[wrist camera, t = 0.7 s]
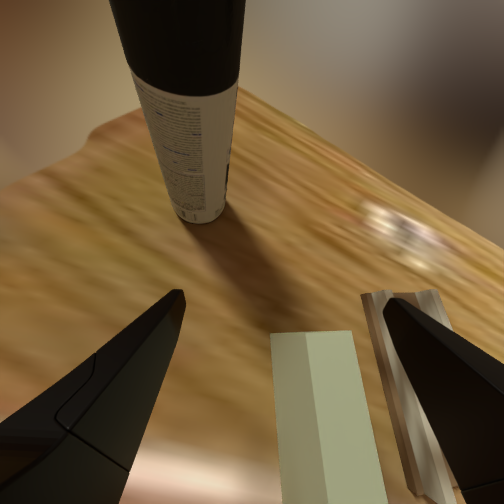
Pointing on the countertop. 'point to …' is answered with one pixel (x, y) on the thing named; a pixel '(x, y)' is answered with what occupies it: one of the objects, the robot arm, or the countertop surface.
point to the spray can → (186, 91)
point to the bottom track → (410, 400)
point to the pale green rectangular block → (323, 421)
